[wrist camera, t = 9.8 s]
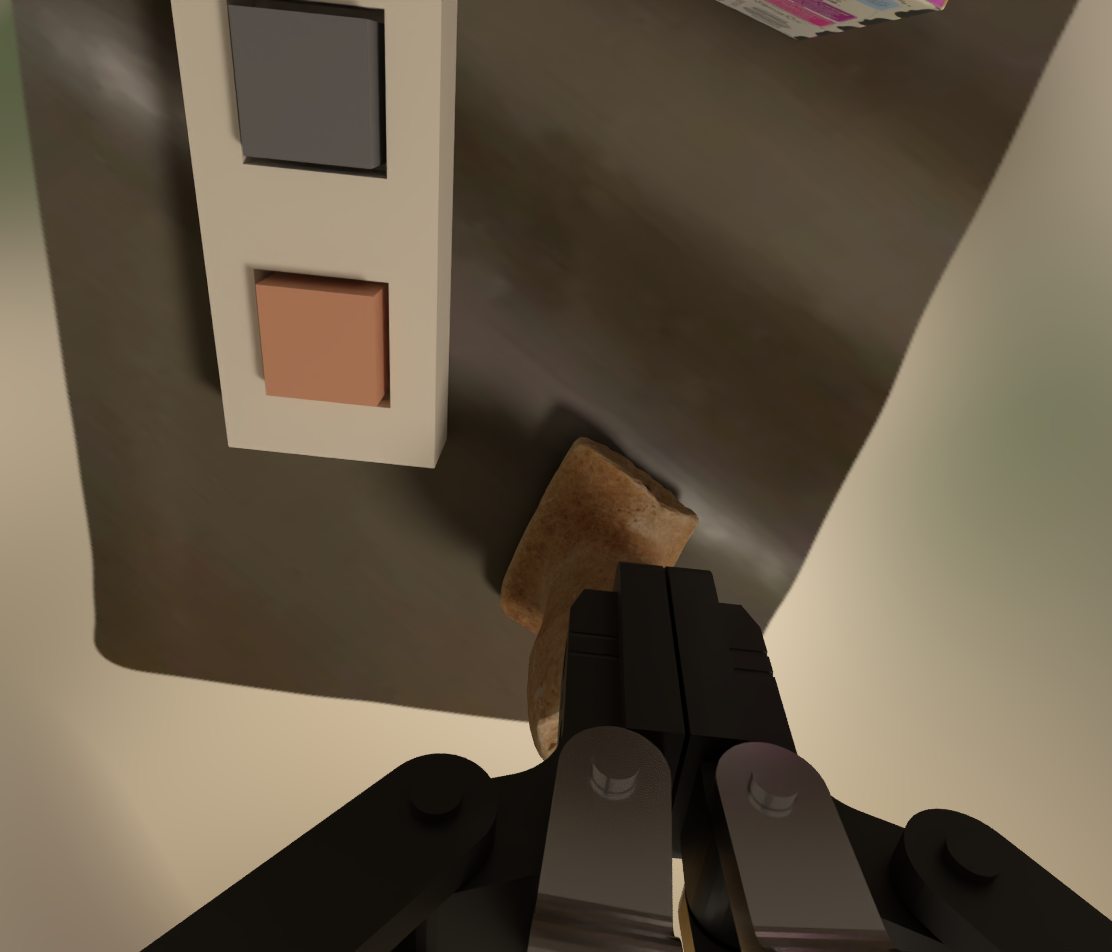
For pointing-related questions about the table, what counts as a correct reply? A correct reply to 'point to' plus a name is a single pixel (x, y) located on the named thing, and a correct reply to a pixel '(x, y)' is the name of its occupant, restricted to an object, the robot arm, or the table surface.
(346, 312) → the terracotta key
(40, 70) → the table surface
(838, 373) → the table surface
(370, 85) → the charcoal key
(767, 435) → the table surface
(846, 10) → the candy bar box
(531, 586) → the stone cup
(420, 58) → the key console
